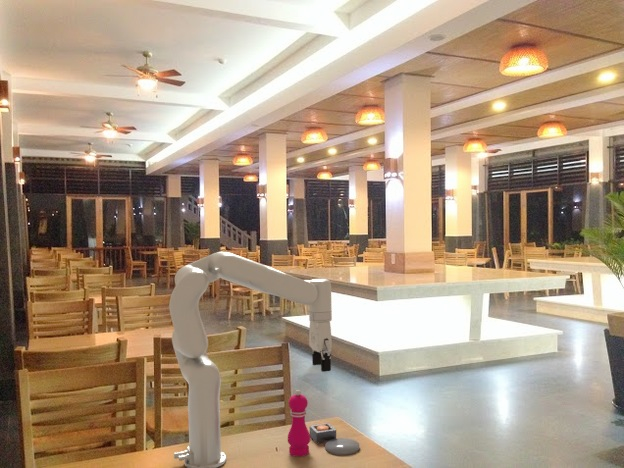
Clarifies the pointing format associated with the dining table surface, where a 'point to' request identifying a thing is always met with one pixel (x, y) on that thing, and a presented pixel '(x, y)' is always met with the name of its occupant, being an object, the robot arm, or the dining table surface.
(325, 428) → the button
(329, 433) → the button housing
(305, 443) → the pepper mill
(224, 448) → the dining table surface
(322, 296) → the robot arm
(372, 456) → the dining table surface
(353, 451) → the pad
